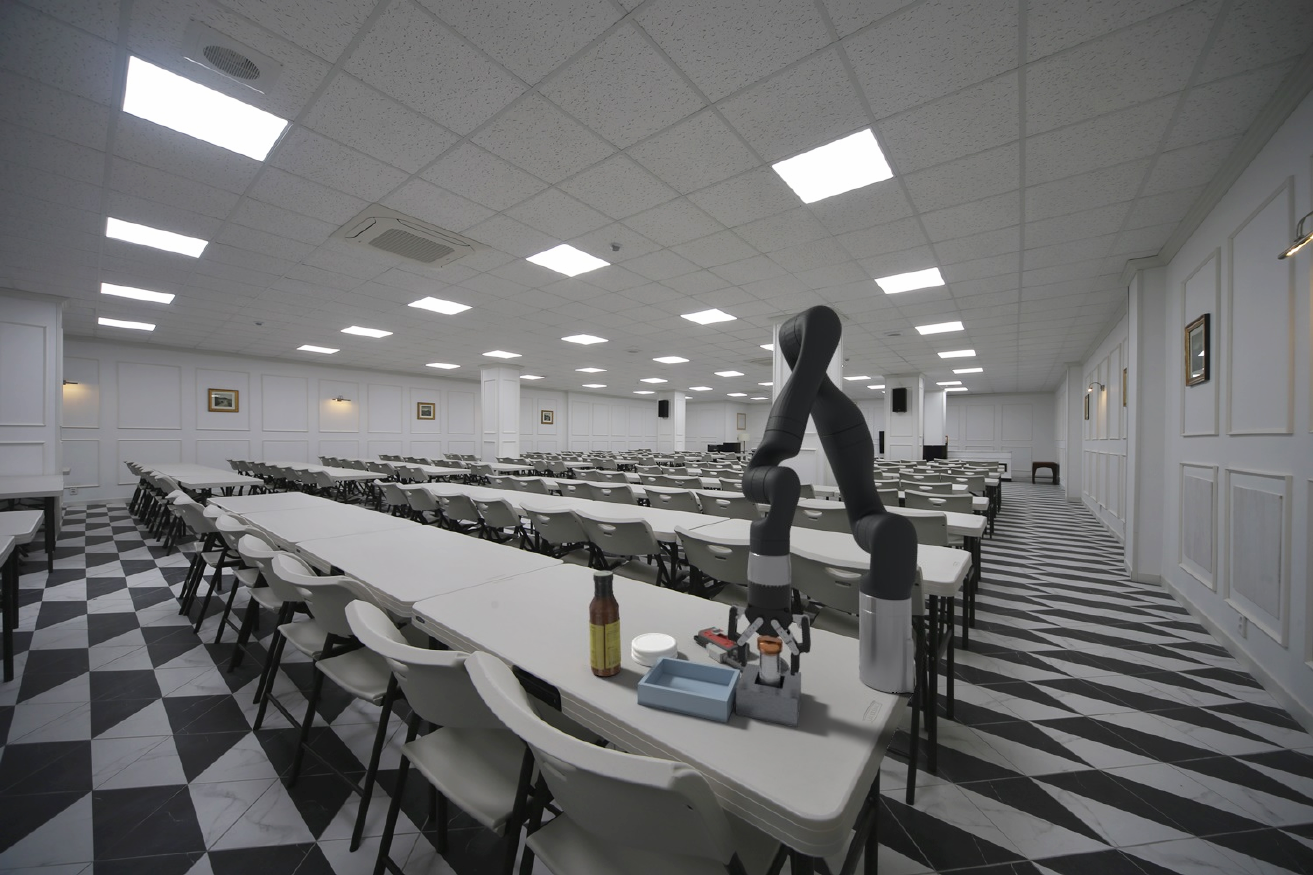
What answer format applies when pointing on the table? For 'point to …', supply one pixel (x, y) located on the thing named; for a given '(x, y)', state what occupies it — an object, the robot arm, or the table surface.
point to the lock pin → (769, 660)
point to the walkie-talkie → (720, 646)
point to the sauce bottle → (604, 627)
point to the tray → (690, 688)
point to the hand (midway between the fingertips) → (768, 669)
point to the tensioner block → (769, 696)
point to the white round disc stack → (653, 648)
